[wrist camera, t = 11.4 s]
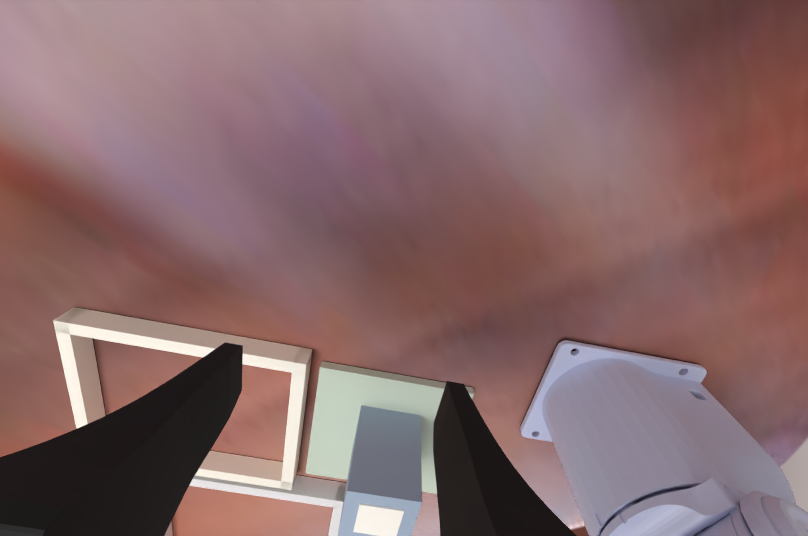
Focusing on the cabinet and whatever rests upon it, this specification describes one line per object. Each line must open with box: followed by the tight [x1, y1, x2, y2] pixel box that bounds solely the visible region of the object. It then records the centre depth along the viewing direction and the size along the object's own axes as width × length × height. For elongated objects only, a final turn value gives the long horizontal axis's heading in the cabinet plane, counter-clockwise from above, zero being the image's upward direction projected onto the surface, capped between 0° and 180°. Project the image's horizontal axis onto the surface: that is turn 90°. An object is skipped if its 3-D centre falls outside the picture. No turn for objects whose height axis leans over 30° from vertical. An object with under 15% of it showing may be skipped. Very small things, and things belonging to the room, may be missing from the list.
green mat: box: [306, 361, 474, 494], centre depth 27 cm, size 10×10×1 cm
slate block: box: [338, 405, 422, 536], centre depth 24 cm, size 4×4×6 cm
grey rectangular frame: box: [165, 475, 347, 536], centre depth 31 cm, size 15×12×2 cm
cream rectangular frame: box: [53, 307, 312, 490], centre depth 26 cm, size 15×12×2 cm
